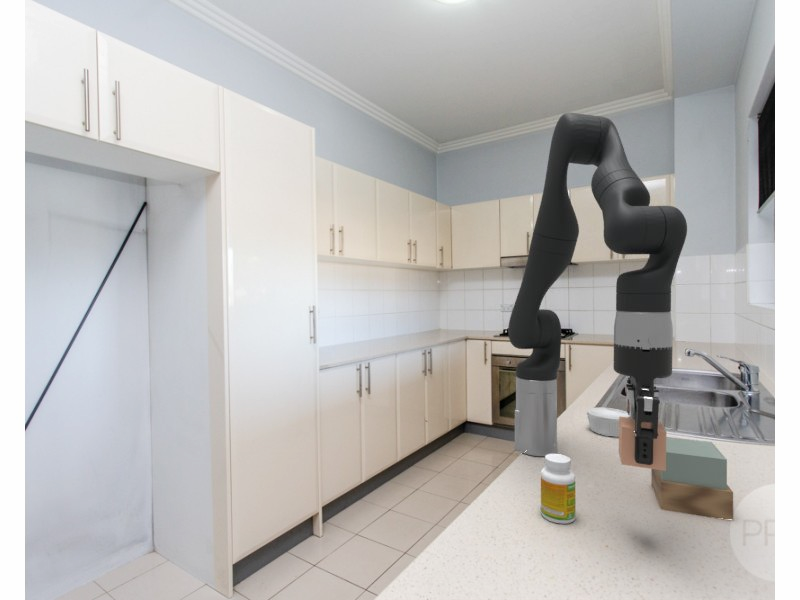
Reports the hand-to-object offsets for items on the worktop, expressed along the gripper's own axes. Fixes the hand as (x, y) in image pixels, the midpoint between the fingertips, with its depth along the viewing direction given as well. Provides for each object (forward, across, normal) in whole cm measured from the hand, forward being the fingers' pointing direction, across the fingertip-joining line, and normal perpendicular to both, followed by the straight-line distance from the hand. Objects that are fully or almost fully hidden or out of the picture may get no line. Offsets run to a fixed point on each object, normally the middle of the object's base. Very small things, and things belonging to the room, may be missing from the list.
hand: (640, 455), depth 63 cm
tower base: (+13, -17, +10) cm, 23 cm away
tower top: (+8, -17, +9) cm, 21 cm away
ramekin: (+14, -54, -1) cm, 56 cm away
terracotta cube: (+1, 0, 0) cm, 1 cm away
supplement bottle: (+13, -3, -12) cm, 18 cm away
